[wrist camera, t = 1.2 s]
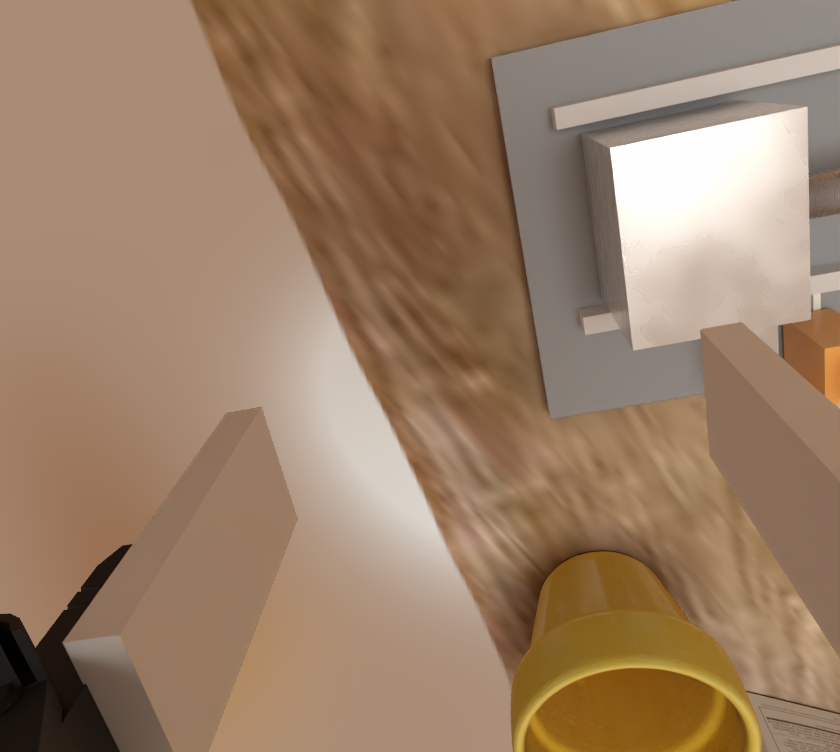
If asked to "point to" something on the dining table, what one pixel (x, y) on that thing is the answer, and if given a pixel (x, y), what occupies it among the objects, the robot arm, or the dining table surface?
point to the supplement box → (795, 726)
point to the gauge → (706, 220)
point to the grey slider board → (634, 101)
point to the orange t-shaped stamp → (816, 351)
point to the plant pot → (624, 669)
